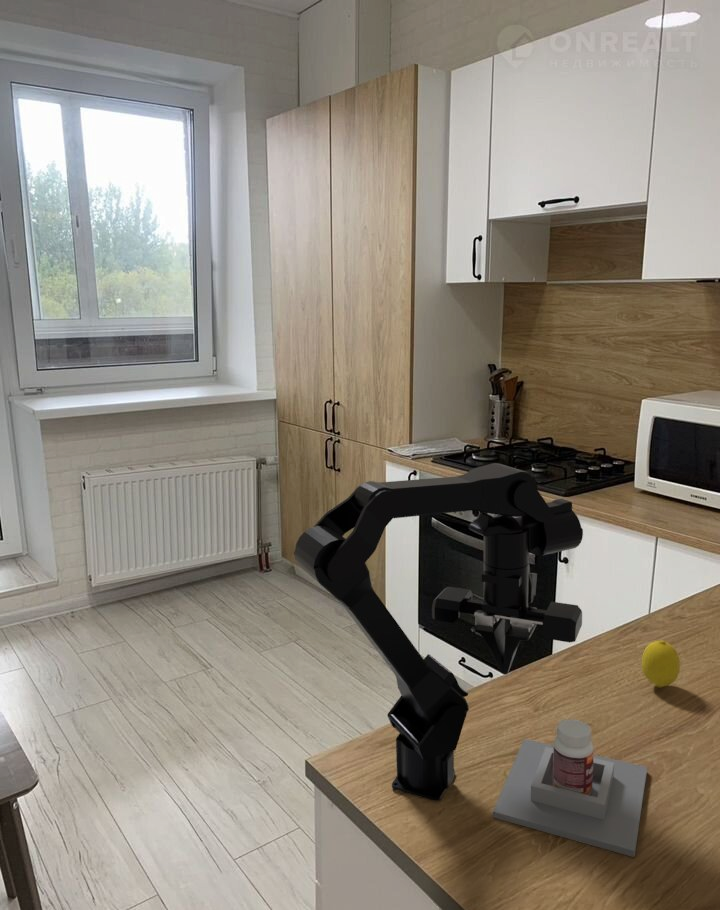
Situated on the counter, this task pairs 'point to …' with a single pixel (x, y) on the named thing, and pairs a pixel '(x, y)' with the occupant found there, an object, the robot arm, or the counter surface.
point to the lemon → (660, 663)
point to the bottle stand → (575, 800)
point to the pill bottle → (573, 757)
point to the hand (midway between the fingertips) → (505, 672)
